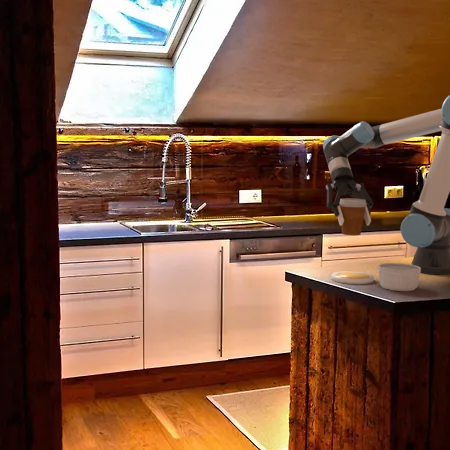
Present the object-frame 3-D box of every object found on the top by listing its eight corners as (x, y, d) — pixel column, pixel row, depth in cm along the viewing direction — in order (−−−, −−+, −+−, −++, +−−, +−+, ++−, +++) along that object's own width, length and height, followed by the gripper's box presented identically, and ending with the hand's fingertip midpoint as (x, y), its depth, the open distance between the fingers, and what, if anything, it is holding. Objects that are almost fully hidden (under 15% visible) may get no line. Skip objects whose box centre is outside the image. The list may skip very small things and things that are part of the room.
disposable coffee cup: (342, 236, 236) (344, 201, 234) (333, 231, 245) (335, 198, 244) (369, 236, 238) (371, 201, 236) (359, 231, 247) (361, 198, 245)
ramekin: (395, 281, 232) (396, 261, 232) (428, 289, 222) (429, 267, 221) (368, 286, 225) (369, 265, 224) (401, 294, 214) (402, 271, 213)
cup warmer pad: (352, 274, 243) (352, 269, 243) (382, 281, 232) (382, 276, 232) (322, 278, 236) (322, 273, 235) (351, 285, 224) (352, 281, 224)
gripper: (366, 179, 256) (381, 229, 243) (309, 179, 251) (322, 229, 238) (372, 166, 250) (389, 216, 237) (314, 165, 246) (328, 216, 232)
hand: (355, 223), depth 238 cm, fingers closed on disposable coffee cup, 9 cm apart
